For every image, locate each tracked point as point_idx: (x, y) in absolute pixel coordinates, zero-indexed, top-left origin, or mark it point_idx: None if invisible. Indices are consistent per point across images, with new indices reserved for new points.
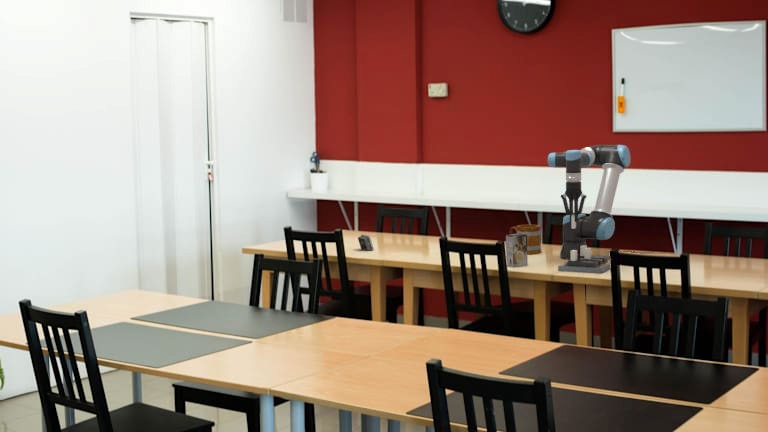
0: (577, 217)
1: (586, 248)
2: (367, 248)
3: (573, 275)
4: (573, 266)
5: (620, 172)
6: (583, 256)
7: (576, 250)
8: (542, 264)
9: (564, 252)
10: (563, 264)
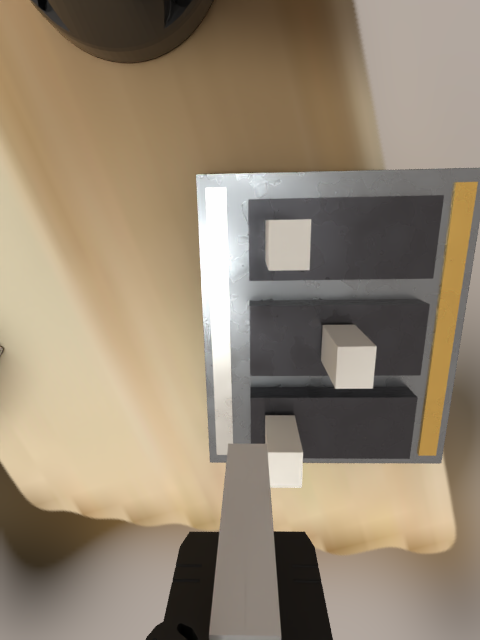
0: (325, 626)
1: (346, 367)
2: None
3: (312, 518)
4: None
5: None
6: None
7: (301, 465)
8: (59, 297)
9: (63, 21)
10: (223, 427)
